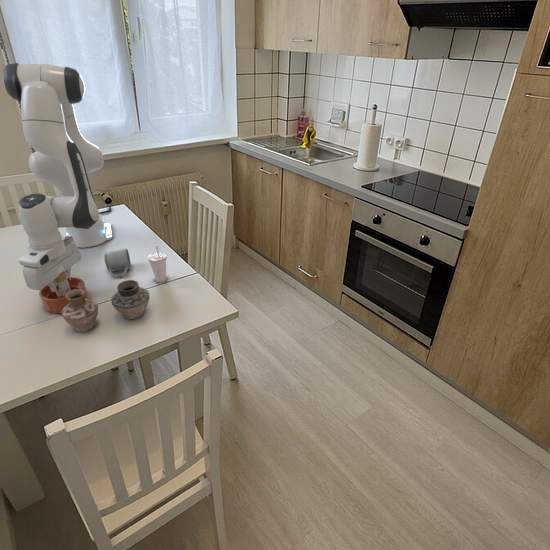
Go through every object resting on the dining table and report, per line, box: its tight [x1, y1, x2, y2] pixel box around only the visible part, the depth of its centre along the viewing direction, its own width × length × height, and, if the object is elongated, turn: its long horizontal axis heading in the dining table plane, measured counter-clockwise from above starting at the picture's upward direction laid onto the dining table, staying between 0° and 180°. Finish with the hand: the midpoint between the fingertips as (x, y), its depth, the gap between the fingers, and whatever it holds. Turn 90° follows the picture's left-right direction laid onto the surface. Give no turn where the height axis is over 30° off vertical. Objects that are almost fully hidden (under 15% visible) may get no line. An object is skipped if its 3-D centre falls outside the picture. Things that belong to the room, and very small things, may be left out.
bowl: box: [38, 276, 89, 314], centre depth 128 cm, size 13×13×6 cm
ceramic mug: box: [103, 247, 132, 279], centre depth 144 cm, size 11×8×8 cm
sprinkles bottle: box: [53, 265, 71, 299], centre depth 126 cm, size 5×5×14 cm
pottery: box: [61, 279, 150, 333], centre depth 119 cm, size 11×25×12 cm, turn 117°
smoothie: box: [147, 244, 168, 283], centre depth 138 cm, size 6×6×14 cm
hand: (61, 285), depth 126 cm, fingers closed on sprinkles bottle, 4 cm apart
